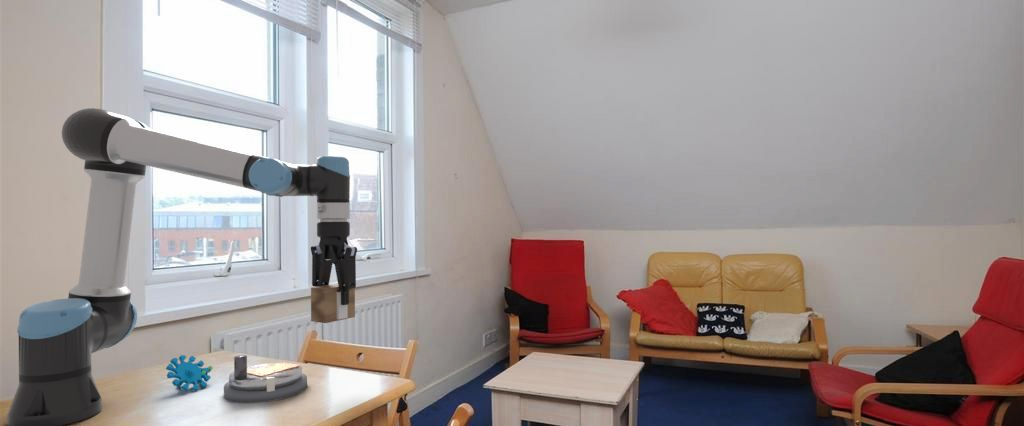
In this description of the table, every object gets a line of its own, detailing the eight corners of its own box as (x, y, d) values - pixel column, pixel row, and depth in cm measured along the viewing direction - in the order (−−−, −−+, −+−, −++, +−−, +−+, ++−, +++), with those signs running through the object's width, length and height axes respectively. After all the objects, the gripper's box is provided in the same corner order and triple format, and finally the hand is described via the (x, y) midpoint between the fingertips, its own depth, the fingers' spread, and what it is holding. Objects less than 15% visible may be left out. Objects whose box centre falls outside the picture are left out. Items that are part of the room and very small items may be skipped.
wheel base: (207, 394, 130) (207, 372, 130) (275, 375, 146) (275, 355, 146) (256, 407, 121) (256, 384, 121) (323, 385, 136) (323, 364, 136)
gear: (176, 390, 128) (163, 354, 132) (163, 406, 129) (150, 370, 134) (221, 384, 138) (207, 351, 142) (209, 399, 139) (195, 366, 143)
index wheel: (234, 374, 138) (234, 345, 138) (303, 368, 143) (303, 340, 143) (223, 393, 123) (223, 361, 123) (300, 386, 128) (300, 355, 128)
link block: (311, 321, 133) (310, 287, 133) (340, 315, 141) (340, 283, 141) (325, 323, 130) (325, 288, 130) (354, 317, 138) (354, 284, 138)
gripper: (295, 220, 137) (295, 316, 137) (348, 221, 128) (348, 323, 128) (320, 220, 144) (320, 311, 143) (372, 220, 134) (372, 318, 134)
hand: (333, 317), depth 136 cm, fingers closed on link block, 5 cm apart
